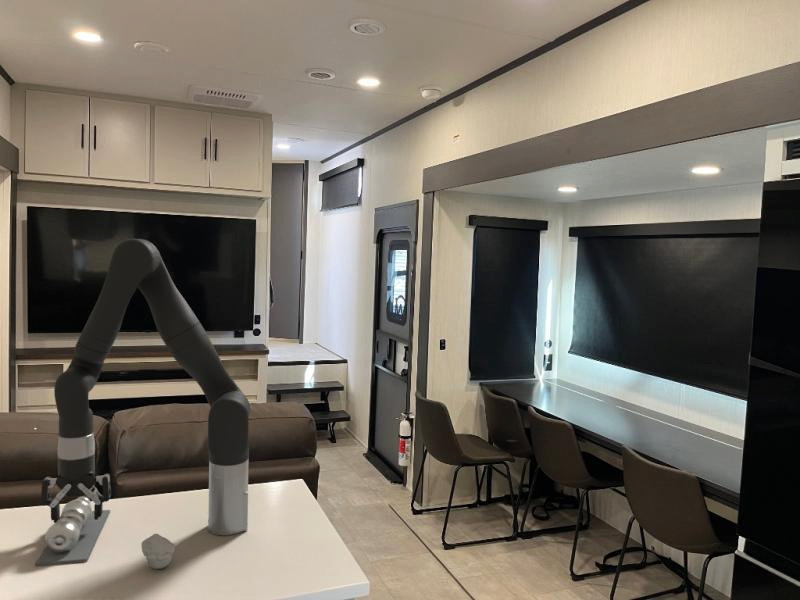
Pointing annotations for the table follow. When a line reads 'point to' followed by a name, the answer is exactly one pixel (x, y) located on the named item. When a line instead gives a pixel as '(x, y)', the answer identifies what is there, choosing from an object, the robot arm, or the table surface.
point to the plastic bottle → (69, 525)
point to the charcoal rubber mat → (82, 547)
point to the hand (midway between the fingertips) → (77, 519)
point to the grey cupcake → (158, 551)
